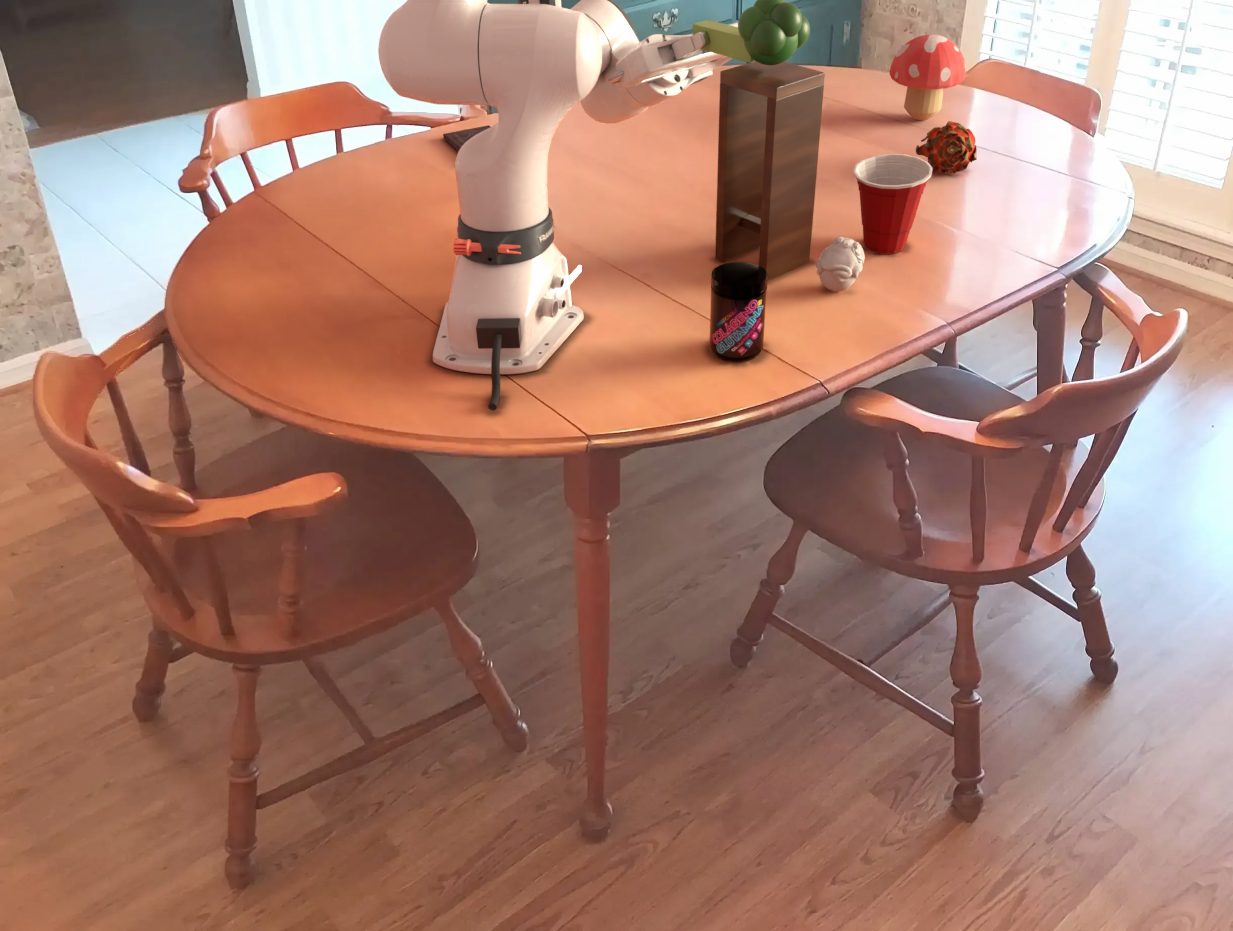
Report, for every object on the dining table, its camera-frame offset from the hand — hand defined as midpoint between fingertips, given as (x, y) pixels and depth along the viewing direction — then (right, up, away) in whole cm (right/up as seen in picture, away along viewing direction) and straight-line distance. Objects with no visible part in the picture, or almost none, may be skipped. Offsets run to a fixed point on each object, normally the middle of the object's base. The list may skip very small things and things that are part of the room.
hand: (717, 34), depth 146 cm
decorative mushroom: (+43, +7, +57) cm, 72 cm away
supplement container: (+1, -43, -10) cm, 44 cm away
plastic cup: (+25, -26, +14) cm, 39 cm away
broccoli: (+3, -4, -2) cm, 6 cm away
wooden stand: (+7, -28, +11) cm, 31 cm away
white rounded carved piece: (+17, -34, +3) cm, 38 cm away
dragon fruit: (+41, -8, +37) cm, 56 cm away
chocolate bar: (-37, -1, +51) cm, 63 cm away
